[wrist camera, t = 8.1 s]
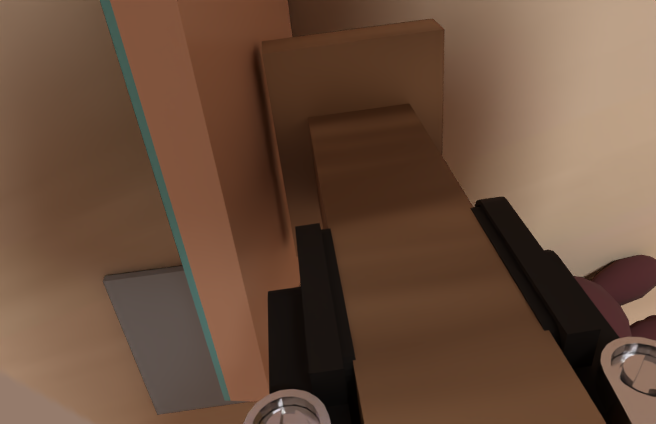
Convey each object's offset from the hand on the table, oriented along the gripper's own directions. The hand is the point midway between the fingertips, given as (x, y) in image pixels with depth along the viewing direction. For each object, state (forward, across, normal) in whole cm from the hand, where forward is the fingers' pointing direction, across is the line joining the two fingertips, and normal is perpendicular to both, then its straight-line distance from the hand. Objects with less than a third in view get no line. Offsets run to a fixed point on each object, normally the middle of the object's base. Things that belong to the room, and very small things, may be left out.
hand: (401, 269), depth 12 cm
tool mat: (+12, +7, +13) cm, 19 cm away
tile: (+7, +3, 0) cm, 8 cm away
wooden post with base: (+7, 0, 0) cm, 7 cm away
